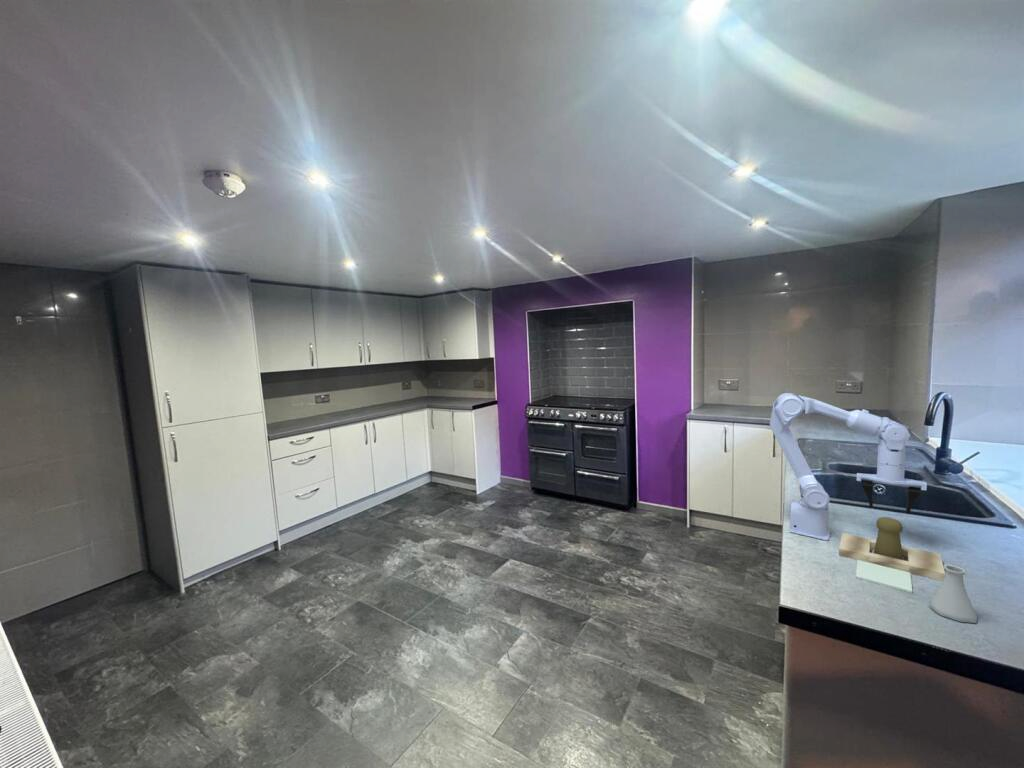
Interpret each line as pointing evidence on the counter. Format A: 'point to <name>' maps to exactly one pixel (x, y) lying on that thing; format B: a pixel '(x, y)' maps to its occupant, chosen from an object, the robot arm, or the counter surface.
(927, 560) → the socket board
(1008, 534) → the counter surface
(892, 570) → the rubber mat
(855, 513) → the counter surface
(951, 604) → the flask
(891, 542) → the cork
